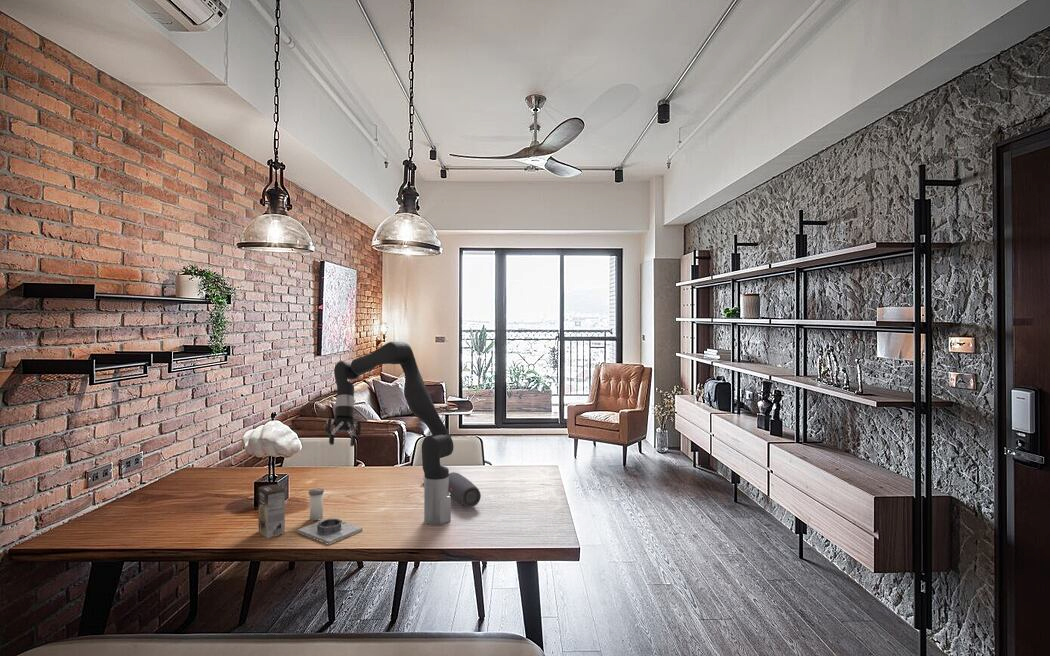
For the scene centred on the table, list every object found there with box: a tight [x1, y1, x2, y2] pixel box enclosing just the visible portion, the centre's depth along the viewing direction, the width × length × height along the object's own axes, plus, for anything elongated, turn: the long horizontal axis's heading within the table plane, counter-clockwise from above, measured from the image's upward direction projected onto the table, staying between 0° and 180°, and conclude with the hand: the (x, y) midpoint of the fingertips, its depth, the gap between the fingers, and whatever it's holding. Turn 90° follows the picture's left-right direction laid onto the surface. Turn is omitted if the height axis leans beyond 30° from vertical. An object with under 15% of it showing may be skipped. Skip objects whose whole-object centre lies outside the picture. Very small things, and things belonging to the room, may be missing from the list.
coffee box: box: [257, 483, 286, 539], centre depth 188 cm, size 9×6×16 cm
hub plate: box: [296, 516, 363, 545], centre depth 189 cm, size 18×14×3 cm
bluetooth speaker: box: [449, 471, 482, 508], centre depth 222 cm, size 23×9×10 cm, turn 27°
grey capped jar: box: [308, 487, 325, 521], centre depth 201 cm, size 5×5×11 cm
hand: (342, 445), depth 217 cm, fingers open, 8 cm apart
